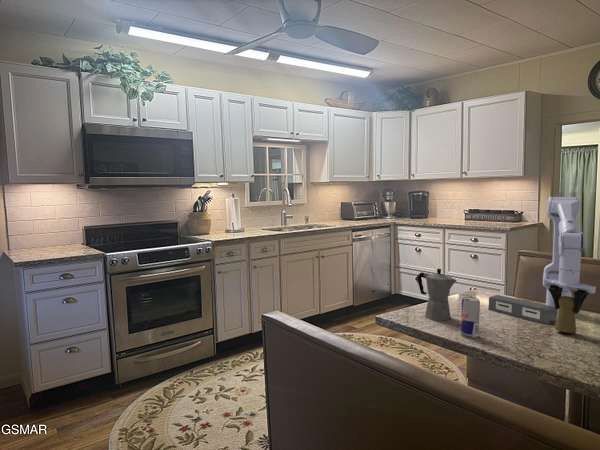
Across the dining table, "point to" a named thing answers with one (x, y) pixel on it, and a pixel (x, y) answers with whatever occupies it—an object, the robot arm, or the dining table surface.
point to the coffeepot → (437, 294)
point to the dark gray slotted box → (523, 309)
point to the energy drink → (470, 317)
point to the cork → (566, 315)
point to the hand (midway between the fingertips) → (567, 310)
